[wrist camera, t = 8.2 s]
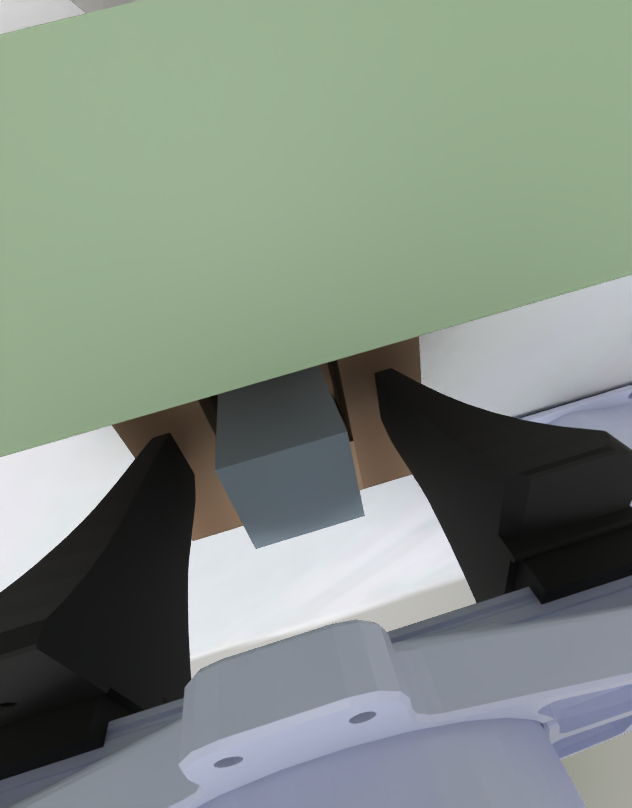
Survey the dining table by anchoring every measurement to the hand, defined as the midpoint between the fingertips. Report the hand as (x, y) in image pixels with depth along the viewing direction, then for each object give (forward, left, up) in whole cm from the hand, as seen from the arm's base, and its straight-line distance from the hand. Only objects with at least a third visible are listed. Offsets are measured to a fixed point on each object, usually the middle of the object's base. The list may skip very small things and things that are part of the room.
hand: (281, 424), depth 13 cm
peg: (0, 0, -4) cm, 4 cm away
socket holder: (0, -2, -5) cm, 5 cm away
